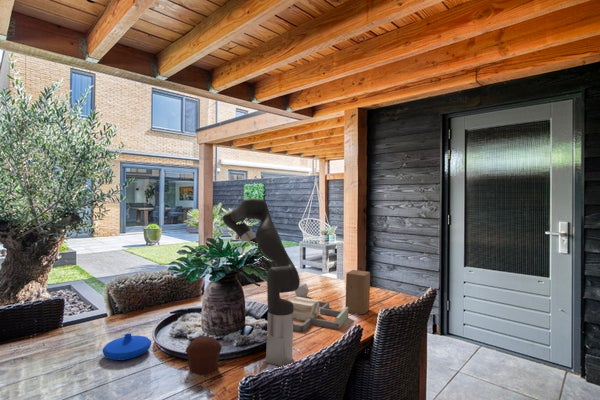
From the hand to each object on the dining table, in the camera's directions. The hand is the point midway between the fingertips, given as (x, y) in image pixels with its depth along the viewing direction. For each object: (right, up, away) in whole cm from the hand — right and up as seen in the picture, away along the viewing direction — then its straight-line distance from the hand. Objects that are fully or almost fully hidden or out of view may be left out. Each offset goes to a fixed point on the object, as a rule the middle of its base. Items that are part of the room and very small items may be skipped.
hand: (270, 267), depth 169 cm
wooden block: (+45, -24, +4) cm, 51 cm away
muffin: (-18, -22, -57) cm, 64 cm away
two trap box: (+23, -23, -8) cm, 33 cm away
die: (+16, -23, +26) cm, 38 cm away
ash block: (+17, -23, -5) cm, 29 cm away
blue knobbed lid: (-48, -22, -48) cm, 71 cm away
